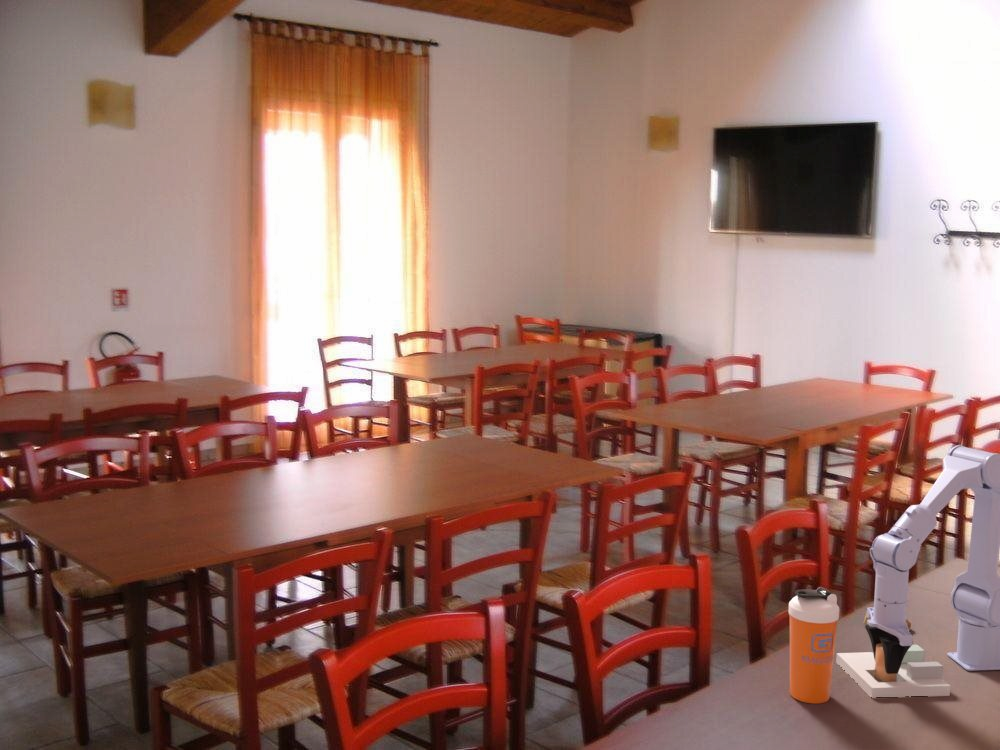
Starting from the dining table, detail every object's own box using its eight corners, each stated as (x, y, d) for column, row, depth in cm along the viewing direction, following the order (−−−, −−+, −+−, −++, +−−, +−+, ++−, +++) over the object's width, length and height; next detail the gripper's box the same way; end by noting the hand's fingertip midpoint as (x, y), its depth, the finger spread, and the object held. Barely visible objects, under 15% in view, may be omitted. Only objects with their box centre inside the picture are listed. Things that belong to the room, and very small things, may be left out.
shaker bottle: (774, 689, 193) (779, 586, 190) (812, 681, 197) (817, 580, 194) (806, 709, 185) (811, 602, 182) (845, 701, 189) (851, 596, 186)
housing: (908, 660, 207) (909, 639, 206) (949, 695, 191) (951, 672, 191) (836, 662, 206) (837, 641, 205) (871, 698, 190) (872, 675, 189)
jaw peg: (891, 672, 197) (892, 642, 196) (900, 681, 193) (902, 650, 192) (870, 673, 197) (872, 642, 196) (880, 681, 193) (881, 651, 192)
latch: (916, 656, 204) (917, 644, 203) (923, 662, 201) (924, 650, 200) (887, 657, 203) (887, 645, 203) (894, 663, 200) (894, 651, 200)
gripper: (853, 586, 200) (849, 652, 202) (887, 613, 185) (883, 684, 187) (888, 585, 200) (884, 652, 202) (925, 612, 186) (920, 683, 188)
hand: (886, 667), depth 195 cm, fingers closed on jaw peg, 4 cm apart
